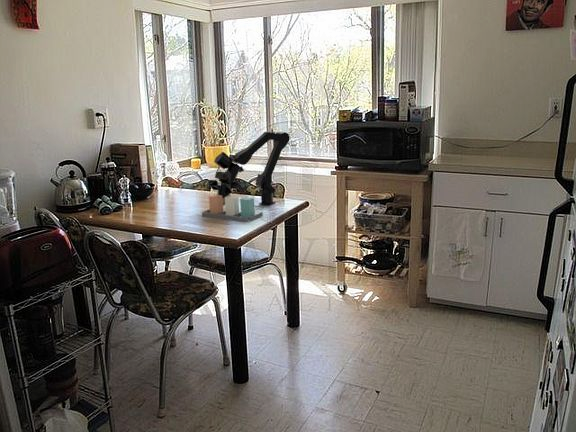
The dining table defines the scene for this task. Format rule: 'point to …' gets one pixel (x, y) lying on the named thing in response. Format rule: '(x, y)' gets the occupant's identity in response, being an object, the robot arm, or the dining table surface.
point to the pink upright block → (216, 204)
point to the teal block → (247, 207)
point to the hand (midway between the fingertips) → (218, 200)
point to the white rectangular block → (232, 205)
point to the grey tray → (234, 217)
